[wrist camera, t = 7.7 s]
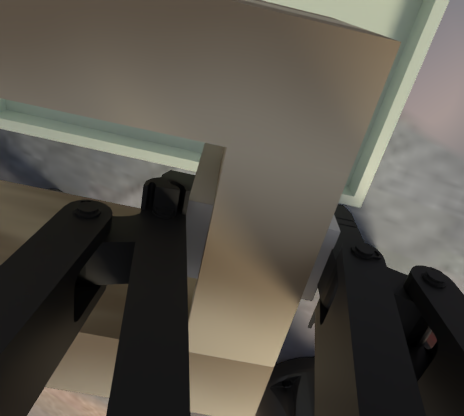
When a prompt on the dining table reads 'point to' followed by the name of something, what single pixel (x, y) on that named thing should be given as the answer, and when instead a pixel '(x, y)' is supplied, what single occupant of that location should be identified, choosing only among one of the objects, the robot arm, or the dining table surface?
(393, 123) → the sage tray
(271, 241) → the open wooden box
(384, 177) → the dining table surface
